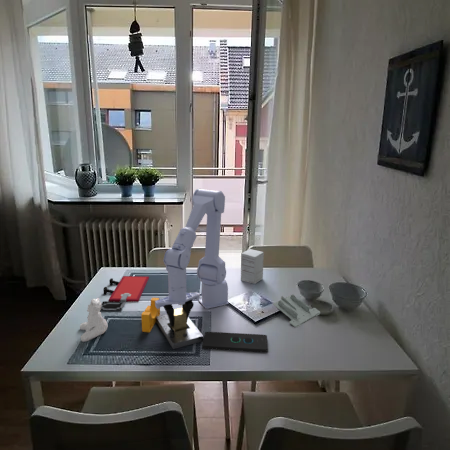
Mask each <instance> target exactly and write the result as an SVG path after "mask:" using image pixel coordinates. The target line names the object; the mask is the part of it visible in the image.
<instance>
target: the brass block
mask: <svg viewBox="0 0 450 450" xmlns="http://www.w3.org/2000/svg"><path fill="white" fill-rule="evenodd" d="M173 309H174V326H171V328H172V329H171V330H173V332H177V331H181V330H185V329H187V320H186V312H185V311H184V310H183V308H182V307H179V308H173Z"/></svg>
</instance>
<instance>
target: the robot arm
mask: <svg viewBox="0 0 450 450" xmlns="http://www.w3.org/2000/svg"><path fill="white" fill-rule="evenodd" d="M223 192H224V191H222V190H211V189H202V188H196V189H195V190H194V192H193V194H192V197H191V202H192V203H191V204H192V208H191V211H190V213H189V216H188V219H187V220H186V224H185V227H182V228H180V230H179V232H178V234H177V236H176V237H175V240H174V241H173V243H172V246H171V247H170V248H169V249H167V250H166V251H165V253H164V256H163V258H162V259H163V264H164V266H165V267H166V268H165V271H167V280H168V281H167V282H168V283H167V285H168V287H167V288H168V296H165V297H163V298H159V299H160V300H156V301H155V306H156V308H157V309H159V308H160V309H161V308H162V307H163V308H164V310H165V312H166V314H167V315H168V318H169V322H170V324H171V326H174V309H175V308H174V307H173V305H178V306H182V307H181V308H183V310H184V311H185V312H186V320H188V317H189V315H190V313H191V310H193V308H194V305H195V304H194V302H193V301H195V300H196V301H198V302H199V303H200V304H201V305H202V306H203V307H204V308H205V309H206V310H208V309H214V308H216V307H217V308H218V307H222V306H225V305H226V306H227V305H228V304H229V286H228V283H227V281H226V277H227V276H226V275H227V269H226V262H225V261H224V259H222V258H221V257H220V256H219V255H220V241H221V226H222V223H221V222H222V214H224V213H225V207H226V206H225V205H226V204H225V203H226V196H225V194H224V193H223ZM205 216H206V227H205V228H206V229H205V230H206V231H205V248H204V256H203V257H202V258H200V259H199V260H198V266H197V268H196V276H197V278H198V279H199V281H200V282H201V295H200V293H199V292H198V291H195V292H187V291H188V290H187V288H188V287H187V267H188V265H189V264H190V261H191V254H192V251H191V250H192V248H193V245H194V243H195V242H196V239H197V233H196V231H197V229H198V227H199V225H200V224H201V222H202V220H203V218H204V217H205ZM200 297H201V298H200Z"/></svg>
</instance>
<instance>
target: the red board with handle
mask: <svg viewBox="0 0 450 450" xmlns="http://www.w3.org/2000/svg"><path fill="white" fill-rule="evenodd" d="M149 279H150V276H144V275H143V276H142V275H141V276H140V275H139V276H138V275H137V276H136V275H135V276H134V275H133V276H132V275H127V276H126V275H123V276H122V278H121V279H120V280H119V281H118V280H117V281H116V280H114V278H110V279H109V286H113V285H116V286H115V289H114V290H113V289H110V288H108V286H104V287H103V291H102V292H103V295H105V296H106V295H107V294H111V295H110V296H109V298H108V301H102V302H101V304H102V305H101V310H102V311H103V310H104V311H105V310H106V311H122V309H123V308H124V305H125V304H126V303H139V302H140V299H141V297H142V295H143V292H144V290H145V288H146V285H147V283H148V281H149ZM101 310H100V311H101Z"/></svg>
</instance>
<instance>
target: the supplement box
mask: <svg viewBox="0 0 450 450" xmlns="http://www.w3.org/2000/svg"><path fill="white" fill-rule="evenodd" d="M264 256H265V254H264V251H260V250H256V249H251V248H249V249H247V250H245V251H243V252H242V253H241V255H240V281H242V282H246V283H249V284H253V285H256V284H257V283H259V282H260V281H261V280H263V279H264Z"/></svg>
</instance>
